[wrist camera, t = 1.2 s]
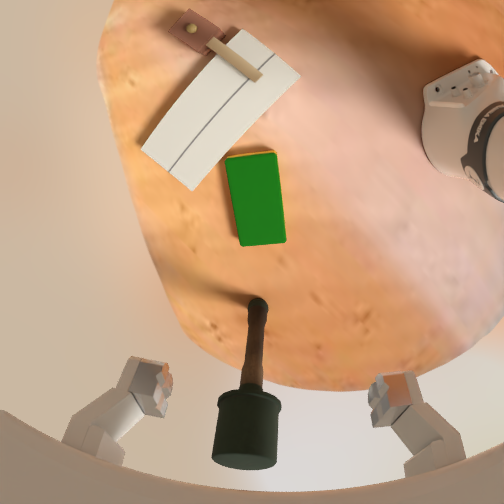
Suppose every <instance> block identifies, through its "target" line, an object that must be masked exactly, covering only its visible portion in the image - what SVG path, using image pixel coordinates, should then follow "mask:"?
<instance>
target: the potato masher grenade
mask: <svg viewBox="0 0 504 504" xmlns="http://www.w3.org/2000/svg"><path fill="white" fill-rule="evenodd" d="M267 313H268V305H267V303H266V302H265V301H264V300H263V299H258V298H257V299H253V300H252V301H251V302H250V303H249V305H248V325H249V327H248V336H247V345H246V353H245V362H244V365H243V368H242V374H241V381H240V387H239V389H238V390H231V391H228V392H225V393H223V394H222V395H221V396H220V397H219V398H218V404H217V406H218V408H219V414H218V420H217V426H216V433H215V439H214V445H213V452H212V459H213V460H214V461H215V462H216V463H218V464H220V465H222V466H225V467H229V468H234V469H240V470H261V469H267V468H270V467H272V466H274V465H275V464H276V462H277V440H278V414H279V412H280V410H281V402H280V400H278V399H277V398H276V397H275V396H273V395H271V394H269V393H267V392H263V389H262V384H263V383H262V382H263V367H262V357H263V341H264V327H265V324H266V321H267Z"/></svg>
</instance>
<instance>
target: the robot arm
mask: <svg viewBox="0 0 504 504" xmlns="http://www.w3.org/2000/svg"><path fill="white" fill-rule="evenodd" d="M490 72H491V73H490ZM436 87H437V89H438V91H437V92H436V90H435V88H436ZM423 95H424V103H425V111H424V116H423V121H422V141H423V146H424V149H425V152H426V154H427V156H428V158H429V160H430V162H431V163H432V164H433V166H434V167H435V168H436V169H437V170H438V171H440V172H441V173H443V174H445V175H447V176H450V177H458V178H463V179H466V180H469V181H471V182H472V183H473V184H475V185H476V186H477V187H478V188H480V189H481V190H483V191H484V192H486V193H487V194H489V195H490V196H492V197H494V198H495V199H497V200H498V201H500V202H503V203H504V78H502V77H501V76H499V75H498V73H497V72H496V71H495V70H494V68H493V67H492V66H491V65H490V64H489V63H487V62H486V61H485V60H483V59H477V60H475V61H473V62H471V63H468V64H466V65H464V66H462V67H460V68H458V69H456V70H454V71H452V72H450V73H448V74H446V75H444V76H442V77H440V78H438V79H436V80H435V81H433V82H431V83H429V84H427V85H426V86H425V87H424V89H423ZM168 370H169V366H168V363H165V362H159V361H154V360H148V359H144V358H139V357H133V356H131V357H130V358H129V359H128V361H127V363H126V365H125V368H124V370H123V372H122V374H121V377H120V379H119V382H118V384H117V386H116V388H112V389H110V390H109V391H107V392H106V393H104V394H103V395H102V396H100V397H99V398H97V399H96V400H94V401H93V402H92V403H90V404H89V405H87V406H86V407H84V408H83V409H81V410H80V411H79V412H77V413H76V414H74V415H73V416H72V418H71V420H70V422H69V425H68V427H67V429H66V432H65V434H64V437H63V439H62V441H61V442H60V441H58V440H56V439H54V438H52V437H50V436H48V435H46V434H44V433H42V432H40V431H38V430H36V429H35V428H33V427H31V426H29V425H28V424H26V423H24V422H23V421H21V420H19V419H17V418H16V417H14V416H13V415H11V414H10V413H8V412H6V411H4V410H0V504H504V442H503V443H501V444H499V445H497V446H495V447H493V448H490V449H488V450H486V451H484V452H481V453H479V454H477V455H475V456H472V457H470V458H467V459H466V455H465V451H464V447H463V443H462V440H461V436H460V433H459V432H458V431H457V430H456V429H455V428H454V427H452V426H451V425H450V424H449V423H448V422H447V421H446V420H445V419H444V418H443V417H442V416H441V415H440V414H439V413H438V412H437V411H435V410H434V409H433V408H432V407H431V406H430V405H429V404H428V403H424V401H423V398H422V395H421V391H420V388H419V385H418V382H417V379H416V376H415V373H414V372H413V371H411V370H409V371H397V372H387V373H379V374H378V375H377V376H376V378H375V379H376V382H374V383H373V384H371V386H370V388H369V392H368V403H369V406H371V408H372V409H373V411H372V412H371V419H372V425H373V428H374V427H384V426H391V428H392V429H393V430H394V431H395V433H396V434H397V435H398V436H399V438H400V439H401V440H402V442H403V443H404V444H405V445H406V447H407V448H408V449H409V450H410V452H411V453H412V454H413V455H414V456H413V457H412V458H410V459H409V460H408V461H406V462H405V464H404V470H405V478H403V479H398V480H394V481H389V482H384V483H379V484H373V485H367V486H361V487H353V488H346V489H336V490H325V491H307V492H264V491H263V492H262V491H247V490H234V489H225V488H216V487H210V486H203V485H196V484H191V483H186V482H181V481H175V480H171V479H166V478H162V477H158V476H154V475H150V474H147V473H143V472H139V471H136V470H133V469H129V468H126V467H123V466H122V463H123V459H124V455H125V451H124V449H122V448H121V447H120V446H119V445H118V444H117V443H116V441H117V440H119V439H120V438H121V437H122V436H123V435H124V434H125V433H126V432H127V431H128V430H129V429H131V428H132V427H133V426H134V425H135V424H136V423H137V422H138V421H139V420H140V419H141V418H142V417H143V416H144V414H145V415H151V416H155V417H160V418H164V417H165V413H166V409H167V406H168V404H167V401H166V399H167V398H168V397H169V396H170V395H171V391H172V386H173V379H172V375H171V374H170V373H169V372H168Z"/></svg>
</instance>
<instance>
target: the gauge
mask: <svg viewBox="0 0 504 504" xmlns="http://www.w3.org/2000/svg"><path fill="white" fill-rule="evenodd" d="M168 32H169V33H171V34H172V35H174V36H175V37H177V38H178V39H180V40H181V41H183V42H184V43H186V44H187V45H189V46H190V47H192V48H193V49H194V50H196V51H197V52H199V53H201V54H203V55H205V56H207V54H208V53H209V52H210V51H211V50H213V51H214V52H216V53H217V54H219V55H220V56H221V57H223V58H224V59H225V60H227V61H228V62H229V63H230V64H232V65H233V66H234V67H236V68H237V69H238V70H239V71H241V72H242V73H243V74H244V75H246V76H247V77H248V78H249V79H251V80H252V81H253V82H254V83H256V82H257V81H258V80H259V79H260V78H261V77H262V76H263V74H262V73H261V72H260V71H258V70H257V69H256V68H255V67H253V66H252V65H251V64H250V63H248V62H247V61H246V60H245V59H243V58H242V57H241V56H239V55H238V54H237V53H235V52H234V51H233V50H232V49H230V48H229V47H227V46H226V45H225V44H223V43H222V42H221V40H222V39H223V38H224V37H225V36H226V35H225V34H224V33H223V32H222V31H221V30H220V28H218V27H217V26H215V25H214V24H212V23H211V22H209V21H208V20H206V19H205V18H203V17H202V16H200V15H199V14H197V13H196V12H194V11H192V10H191V9H188V10H187V11H186V12H185V13H184V14H183V16H182V17H181V18H180V19H179V20H178V21H177V22H176V23H175V24H174V25H173V26H172V28H171V29H170V30H169V31H168Z"/></svg>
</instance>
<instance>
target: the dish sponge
mask: <svg viewBox="0 0 504 504" xmlns="http://www.w3.org/2000/svg"><path fill="white" fill-rule="evenodd" d="M225 166H226V172H227V177H228V183H229V188H230V194H231V199H232V204H233V210H234V215H235V220H236V226H237V231H238V236H239V242H240V245H241V246H242V247H244V246H255V245H266V244H278V243H285V242H286V229H285V219H284V210H283V201H282V192H281V183H280V175H279V167H278V158H277V152H276V151H274V150H271V151H262V152H254V153H246V154H239V155H232V156H228V157H227V159H226V160H225Z"/></svg>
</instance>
